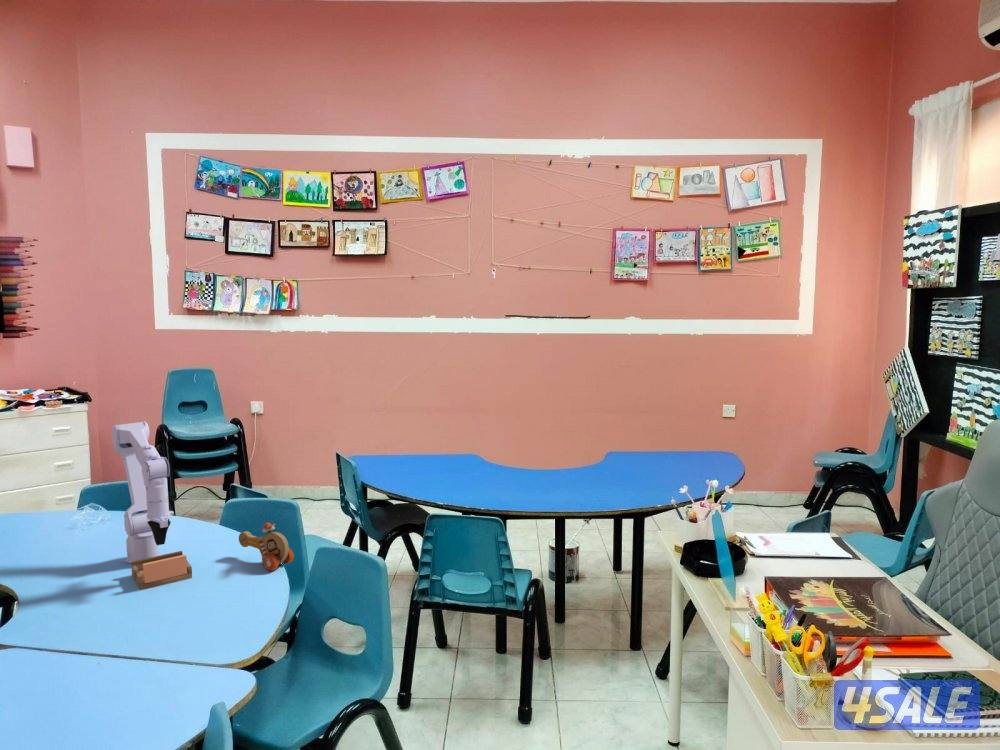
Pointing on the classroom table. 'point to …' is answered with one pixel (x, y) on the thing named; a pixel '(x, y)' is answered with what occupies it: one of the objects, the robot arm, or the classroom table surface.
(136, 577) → the open wooden crate
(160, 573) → the orange rectangular block
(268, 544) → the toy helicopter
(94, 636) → the classroom table surface
